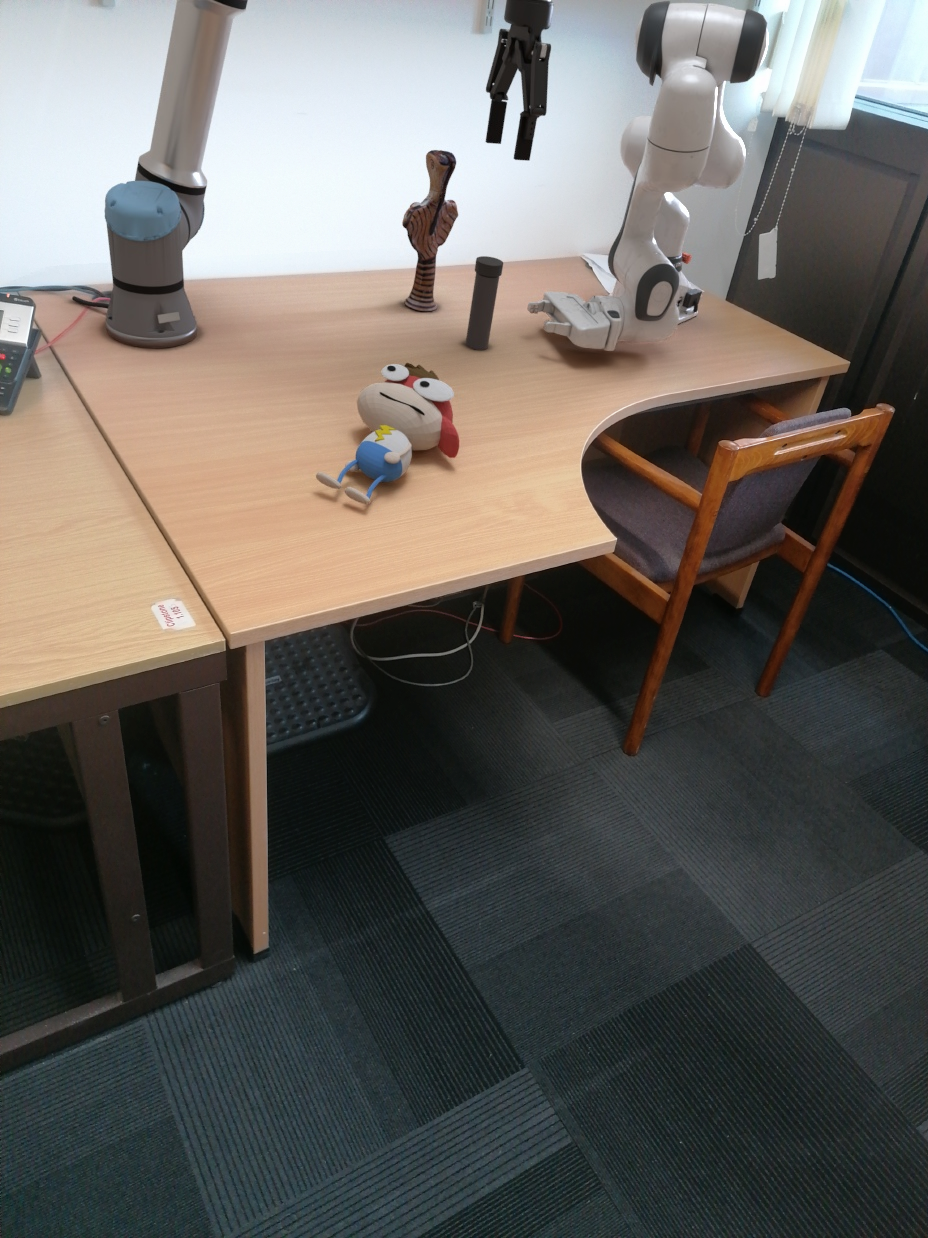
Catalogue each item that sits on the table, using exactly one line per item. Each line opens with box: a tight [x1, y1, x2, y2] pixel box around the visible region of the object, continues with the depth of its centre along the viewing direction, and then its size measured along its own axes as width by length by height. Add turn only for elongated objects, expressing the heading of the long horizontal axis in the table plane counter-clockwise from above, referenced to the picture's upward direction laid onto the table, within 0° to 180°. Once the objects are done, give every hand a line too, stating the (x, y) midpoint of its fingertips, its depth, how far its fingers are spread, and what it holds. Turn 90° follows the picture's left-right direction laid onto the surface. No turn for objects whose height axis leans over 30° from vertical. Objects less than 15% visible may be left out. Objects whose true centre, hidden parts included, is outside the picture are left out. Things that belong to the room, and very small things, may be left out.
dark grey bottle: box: [465, 272, 500, 351], centre depth 170 cm, size 4×4×16 cm
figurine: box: [401, 149, 459, 312], centre depth 178 cm, size 15×8×30 cm, turn 144°
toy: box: [315, 362, 460, 505], centre depth 132 cm, size 18×10×30 cm
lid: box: [474, 255, 504, 278], centre depth 165 cm, size 5×5×2 cm
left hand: (507, 150), depth 153 cm, fingers open, 10 cm apart
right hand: (536, 316), depth 174 cm, fingers open, 8 cm apart
